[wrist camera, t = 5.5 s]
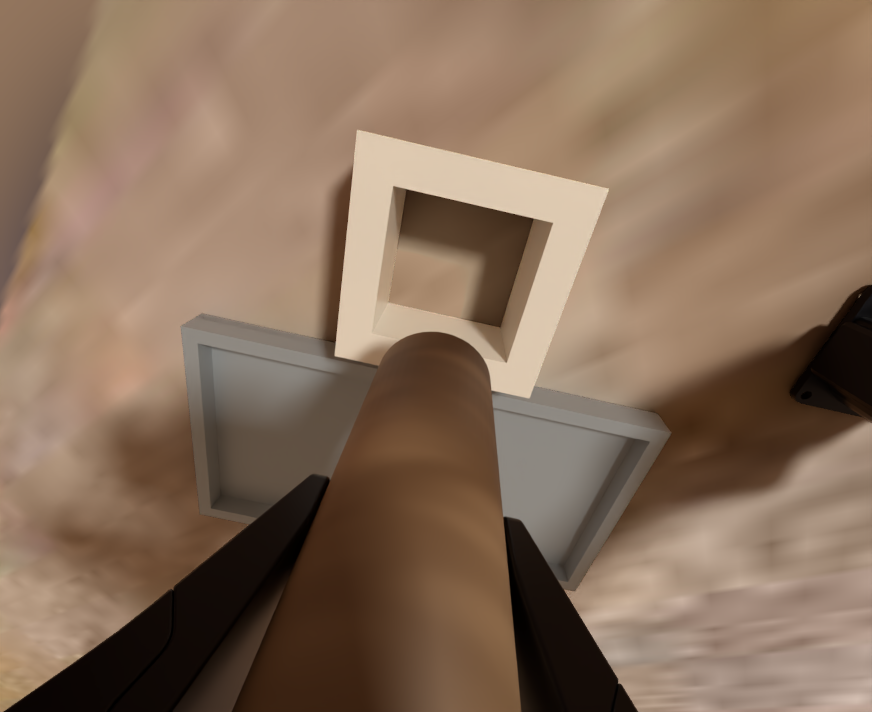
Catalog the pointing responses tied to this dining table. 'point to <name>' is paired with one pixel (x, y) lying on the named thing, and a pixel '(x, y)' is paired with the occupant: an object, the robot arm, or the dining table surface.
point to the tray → (337, 412)
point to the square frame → (479, 185)
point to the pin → (402, 556)
